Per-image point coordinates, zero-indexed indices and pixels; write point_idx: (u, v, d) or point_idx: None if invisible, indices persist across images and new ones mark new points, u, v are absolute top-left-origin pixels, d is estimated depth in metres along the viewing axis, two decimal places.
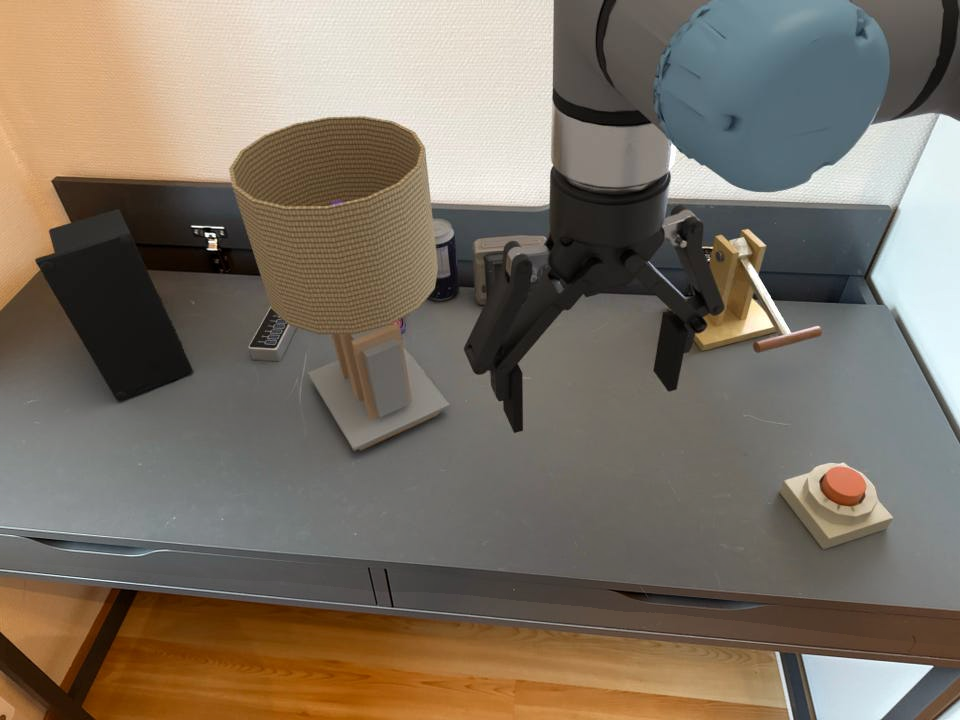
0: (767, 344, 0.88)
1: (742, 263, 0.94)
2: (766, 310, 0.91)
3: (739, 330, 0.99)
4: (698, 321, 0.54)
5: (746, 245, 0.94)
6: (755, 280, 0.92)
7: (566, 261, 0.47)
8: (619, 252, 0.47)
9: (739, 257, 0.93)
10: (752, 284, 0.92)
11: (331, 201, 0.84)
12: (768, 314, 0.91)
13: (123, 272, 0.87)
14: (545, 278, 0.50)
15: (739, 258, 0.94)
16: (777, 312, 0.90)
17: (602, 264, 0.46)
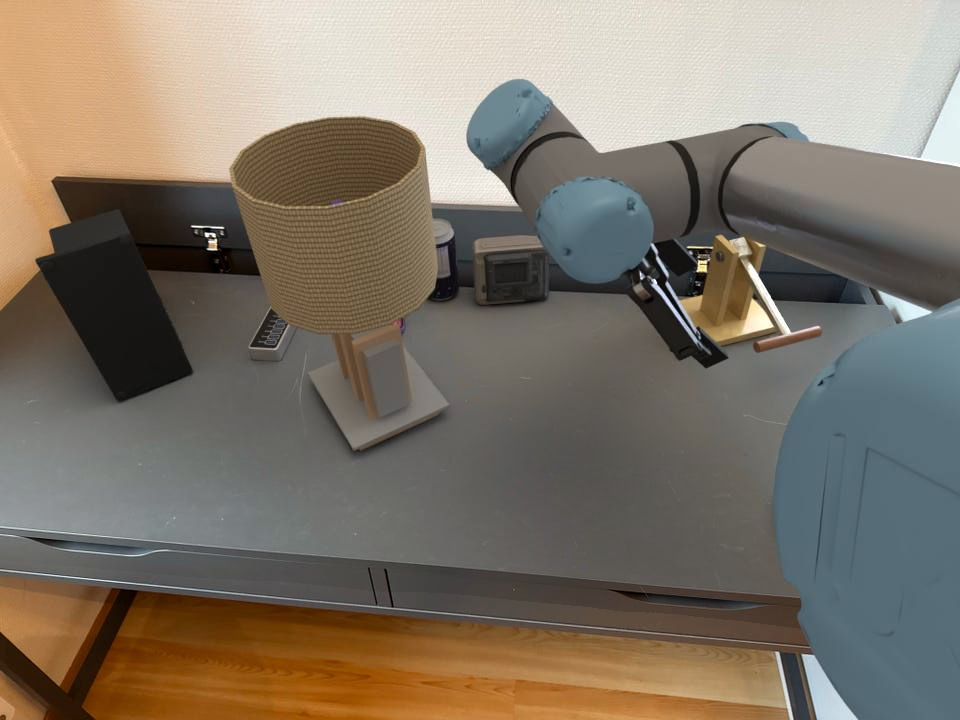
0: (767, 344, 0.88)
1: (742, 263, 0.94)
2: (766, 310, 0.91)
3: (739, 330, 0.99)
4: None
5: (746, 245, 0.94)
6: (755, 280, 0.92)
7: (645, 260, 0.68)
8: None
9: (739, 257, 0.93)
10: (752, 284, 0.92)
11: (331, 201, 0.84)
12: (768, 314, 0.91)
13: (122, 272, 0.87)
14: None
15: (739, 258, 0.94)
16: (777, 312, 0.90)
17: None
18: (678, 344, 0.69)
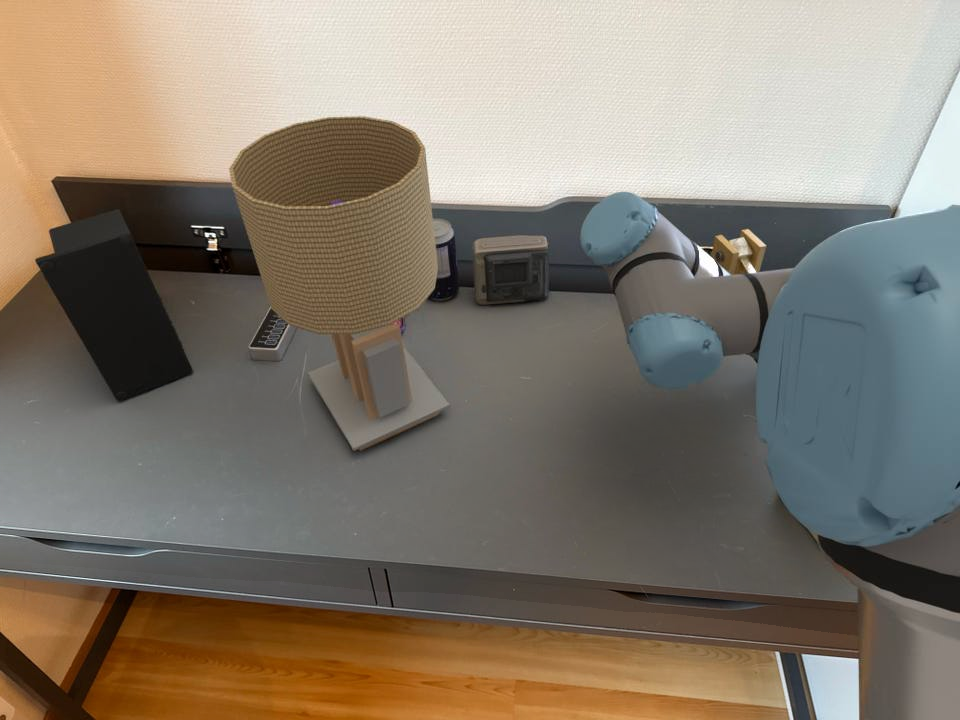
0: None
1: (742, 263, 0.94)
2: None
3: None
4: None
5: (746, 245, 0.94)
6: None
7: None
8: None
9: (739, 257, 0.93)
10: None
11: (331, 201, 0.84)
12: None
13: (123, 272, 0.87)
14: None
15: (739, 258, 0.94)
16: None
17: None
18: None
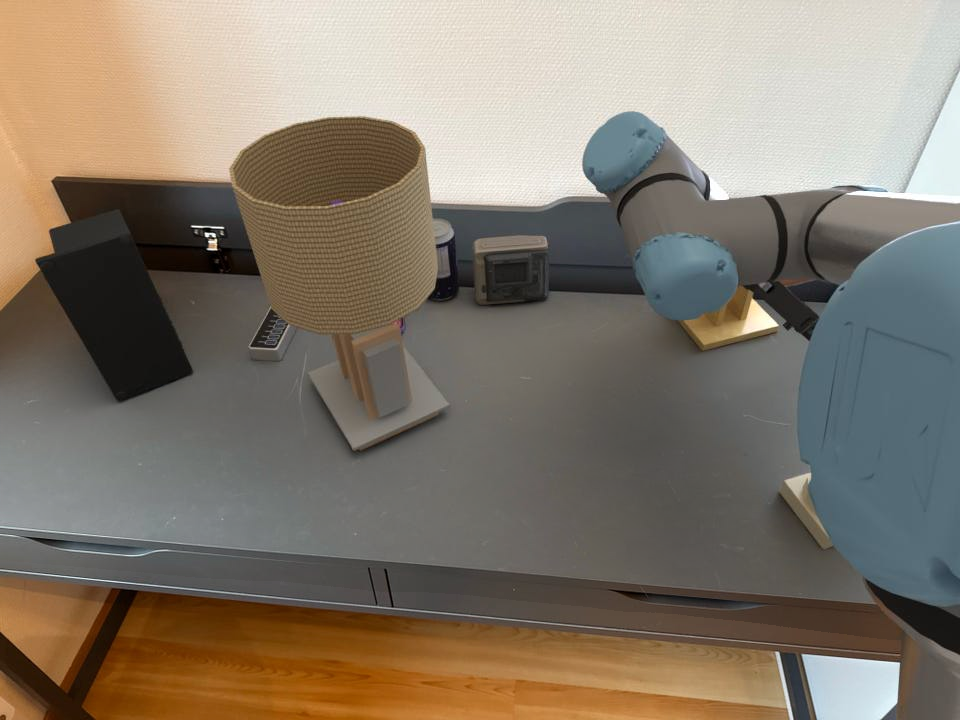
0: None
1: None
2: None
3: (739, 330, 0.99)
4: None
5: None
6: None
7: None
8: None
9: None
10: None
11: (331, 201, 0.84)
12: None
13: (123, 272, 0.87)
14: None
15: None
16: None
17: None
18: (799, 319, 0.75)
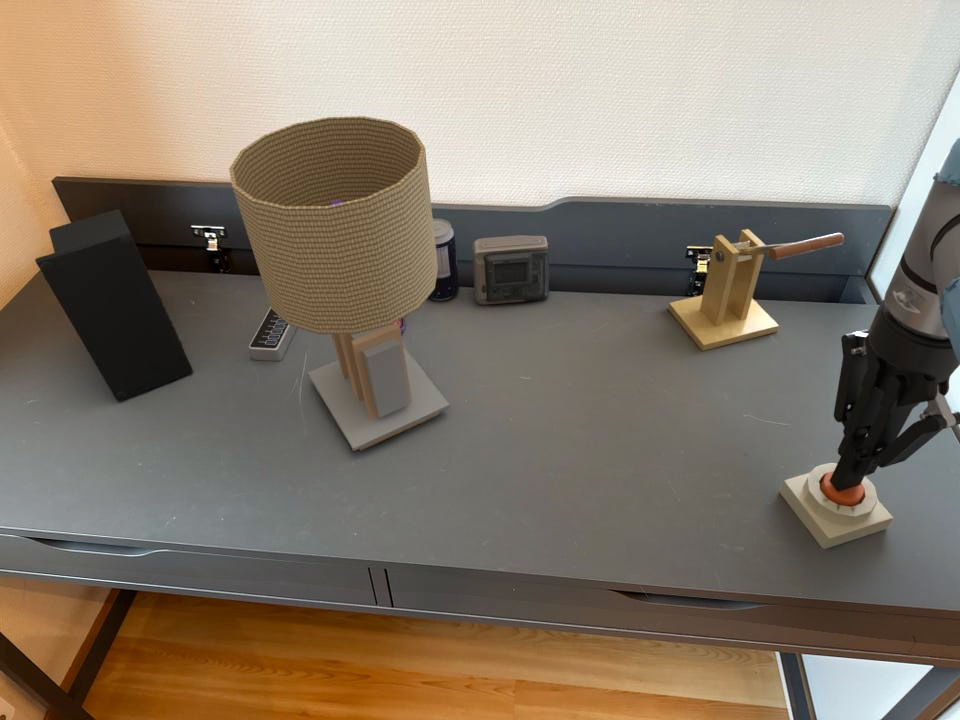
0: (781, 246, 0.80)
1: (742, 249, 0.93)
2: None
3: (739, 330, 0.99)
4: None
5: (741, 242, 0.95)
6: (758, 246, 0.90)
7: None
8: None
9: (737, 246, 0.93)
10: (757, 250, 0.90)
11: (331, 201, 0.84)
12: None
13: (123, 272, 0.87)
14: (894, 409, 0.64)
15: (738, 247, 0.93)
16: (787, 243, 0.85)
17: None
18: (899, 458, 0.66)
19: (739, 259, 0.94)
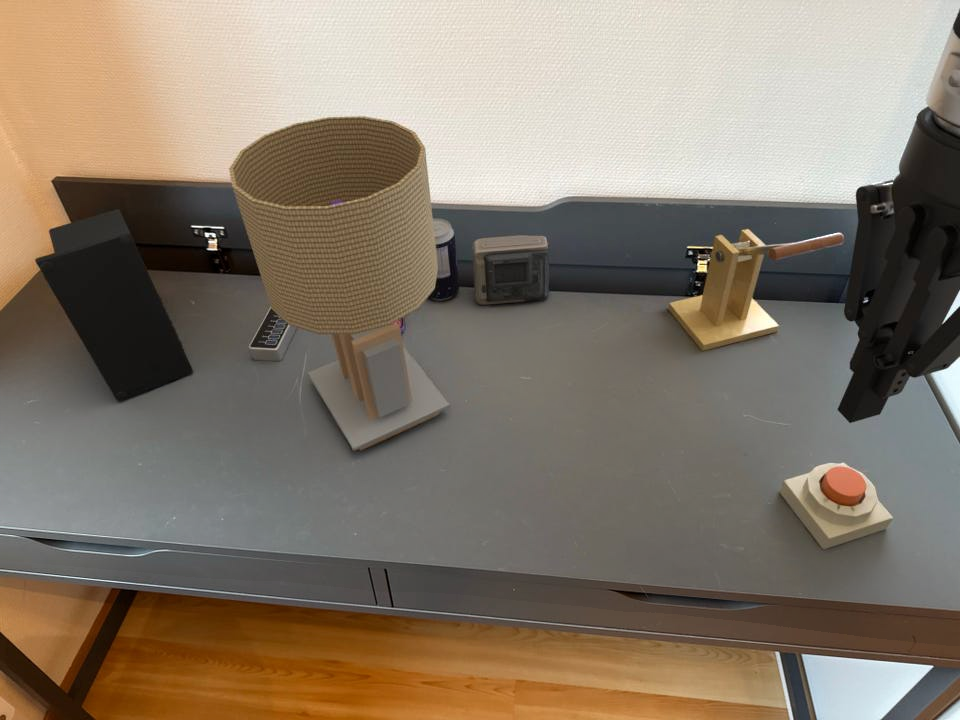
0: (781, 246, 0.80)
1: (742, 249, 0.93)
2: None
3: (739, 330, 0.99)
4: None
5: (741, 242, 0.95)
6: (758, 246, 0.90)
7: None
8: None
9: (737, 246, 0.93)
10: (757, 250, 0.90)
11: (331, 201, 0.84)
12: None
13: (122, 272, 0.87)
14: (936, 283, 0.43)
15: (738, 247, 0.93)
16: (787, 243, 0.85)
17: None
18: (942, 361, 0.45)
19: (739, 259, 0.94)
